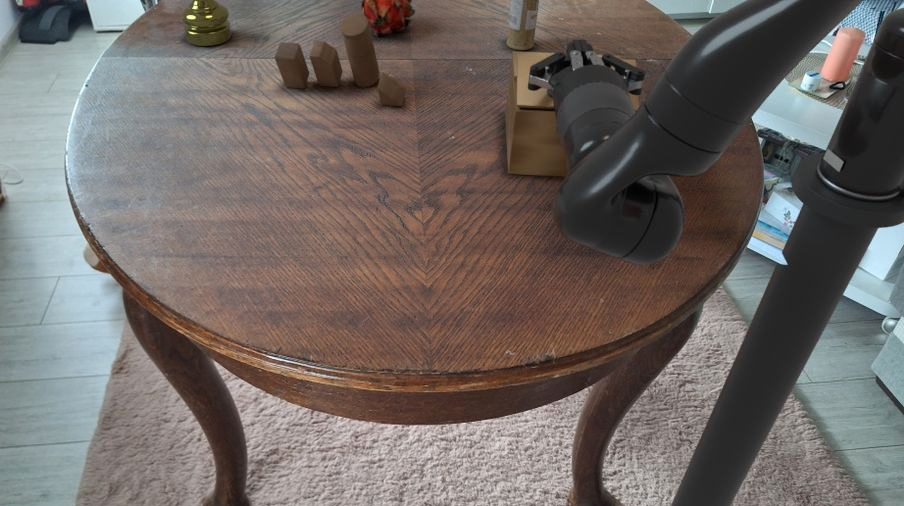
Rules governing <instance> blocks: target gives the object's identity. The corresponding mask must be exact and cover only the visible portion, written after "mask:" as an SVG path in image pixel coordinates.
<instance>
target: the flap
mask: <svg viewBox="0 0 904 506" xmlns="http://www.w3.org/2000/svg"><path fill="white" fill-rule="evenodd" d="M547 57H549V56H529V55H517V104H516V107H526V108H549V109H554V103H553V99H552V98H551V97H549V95H548V94H547V89H545V88H540V89H538V90H536V91H532V90H529V89H528V80H529V73H530V67H531V66H532V65H534V64H536V63H538V62H540V61H542V60H543V59H545V58H547ZM621 60H623V61H625V62H627V63H629V64H631V65H633V66H635V67H637V59H625V58H621ZM611 69H613V70H615V68H614V67H613V66H611ZM629 96H630V99H631V102H632V105H633V108H634V111H635V112H636V111H637V110H638V108H639V107H640V101H639V95H632V94H630V93H629Z"/></svg>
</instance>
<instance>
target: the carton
mask: <svg viewBox="0 0 904 506" xmlns="http://www.w3.org/2000/svg"><path fill="white" fill-rule="evenodd" d="M554 53H555V52H539V51H538V52H535V51H514V50H513V51H512V54H511V59H510V66H509V75H508V85H507V95H506V102H505V103H506V104H505V113H504V118H505V121H504V122H505V139H506V140H505V141H506V156H507V157H506V158H507V159H506V160H507V174H508V175H521V176H522V175H523V176H524V175H525V176H543V177H563V178H565V177H566V175H567V174H568V171H567V166H566V161H565V155H564V149H563V147H562V145H561V142H560V139H559V134H558V133H557V128H556V116H555V109H549V108H526V107H516V104H517V55H529V56H551V55H553V54H554ZM602 55H603V54H597V56H598V57H602ZM611 55H612V54H611ZM612 56H614V57H616V58H618V59H622V57H621V55H612Z"/></svg>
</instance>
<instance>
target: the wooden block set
mask: <svg viewBox="0 0 904 506" xmlns="http://www.w3.org/2000/svg"><path fill="white" fill-rule="evenodd" d="M370 27H371V26H370V25H369V22H368V19H367V18H366V17H365V16H364V15H363V13H359V12H355V13H351V14H349V15H347V16H345V17H344V19H342V21H341V24H340V32H341V36H342V39H343V40H342V41H343V44H344V46H345V47H344V48H345V50H346V55H347V58H348V62H349V66H350V69H351V73H352V77H353V81H354V82H355V84H356V85H358V86H359V87H362V88H367V87H371V86H373V85H375V84H376V82H377V81H378V80H379V82H378V85H377V92H378V97H379V101H380V105H381V106H391V107H403V102H404V98H405V95H406V91H407V90H406V88H404V87H403V86H402V85H401V84H400V83H398V82H397V81H395V80H394V79H393V78H392V77H390V76H389V75H388V74H386V73H385V72H383V71H382V72H381V75H380V69H379V63H378V58H377V55H376V54H377V53H376V49H375V45H374V42H373V36H372V32H371V28H370ZM309 59H310V63H311V66H312V69H313V70H314V75H315V78H316V80H317V84H318V86H321V87H322V86H323V87H333V88H338V87H339V86H340V82H341V78H342V76H343V72H344V71H343V68H342V65H341V62H340V57H339V54H338V50H337V48H335V47H334V46H332V45H331V44H329V43H328V42H326V41H324V40H314V41H313V44H312V47H311V51H310V53H309ZM274 61H275V63H276V66H277V69H278V71H279V73H280V76H281V79H282V81H283V84H284V86H285V87H286V88H292V89H293V88H294V89H305V88H306V85H307V82H308V79H309V77H310V70H309V67H308V64H307V61H306V59H305V56H304V52H303V50H302V46H301V44H300V43H295V42H282V41H281V42H279V44H278V47H277V50H276V52H275V55H274Z"/></svg>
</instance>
